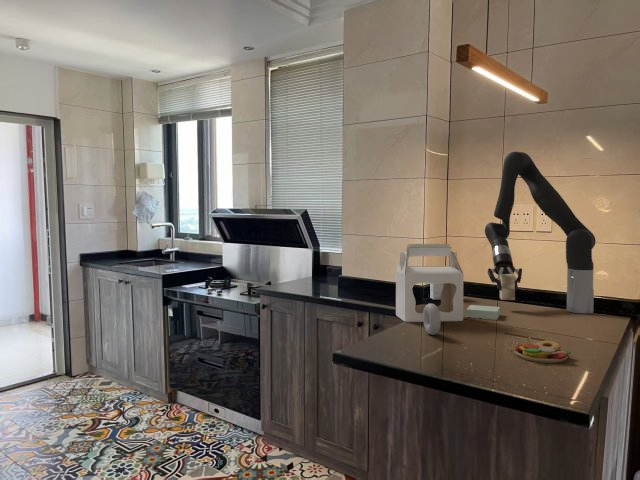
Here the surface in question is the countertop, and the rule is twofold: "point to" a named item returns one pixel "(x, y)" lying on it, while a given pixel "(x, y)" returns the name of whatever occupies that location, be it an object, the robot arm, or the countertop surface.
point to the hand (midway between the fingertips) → (508, 289)
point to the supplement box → (436, 291)
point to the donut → (431, 319)
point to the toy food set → (542, 352)
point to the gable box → (429, 274)
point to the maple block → (507, 287)
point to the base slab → (483, 312)
